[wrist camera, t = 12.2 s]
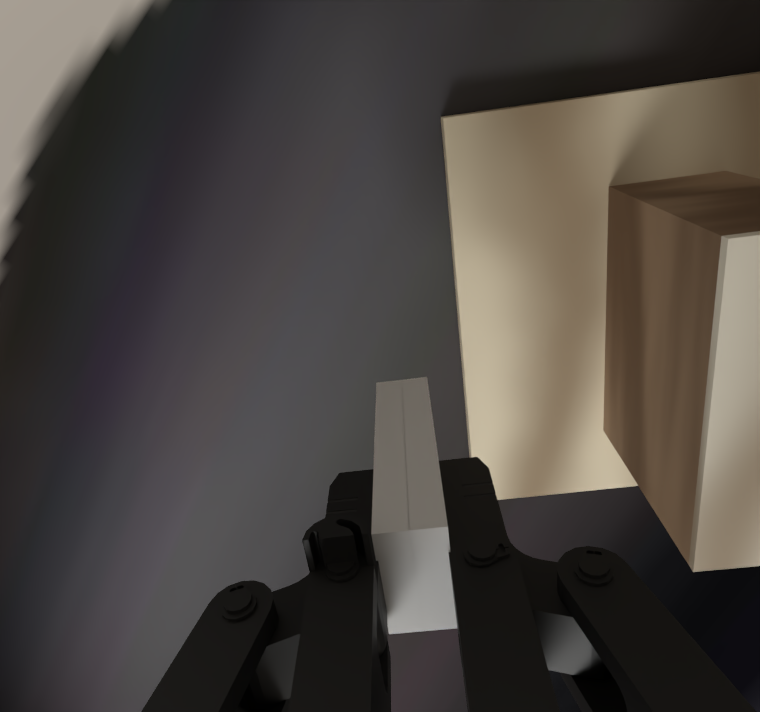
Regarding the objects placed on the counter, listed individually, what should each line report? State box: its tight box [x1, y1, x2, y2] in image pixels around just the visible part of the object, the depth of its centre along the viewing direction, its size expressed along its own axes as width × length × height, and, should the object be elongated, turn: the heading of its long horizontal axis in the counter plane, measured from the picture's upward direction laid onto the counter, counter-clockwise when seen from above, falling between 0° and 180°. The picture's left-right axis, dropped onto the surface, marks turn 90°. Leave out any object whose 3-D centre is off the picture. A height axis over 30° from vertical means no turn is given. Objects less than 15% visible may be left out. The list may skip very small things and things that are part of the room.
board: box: [441, 72, 760, 500], centre depth 23 cm, size 20×16×1 cm
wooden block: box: [603, 171, 760, 572], centre depth 19 cm, size 4×10×8 cm, turn 8°
